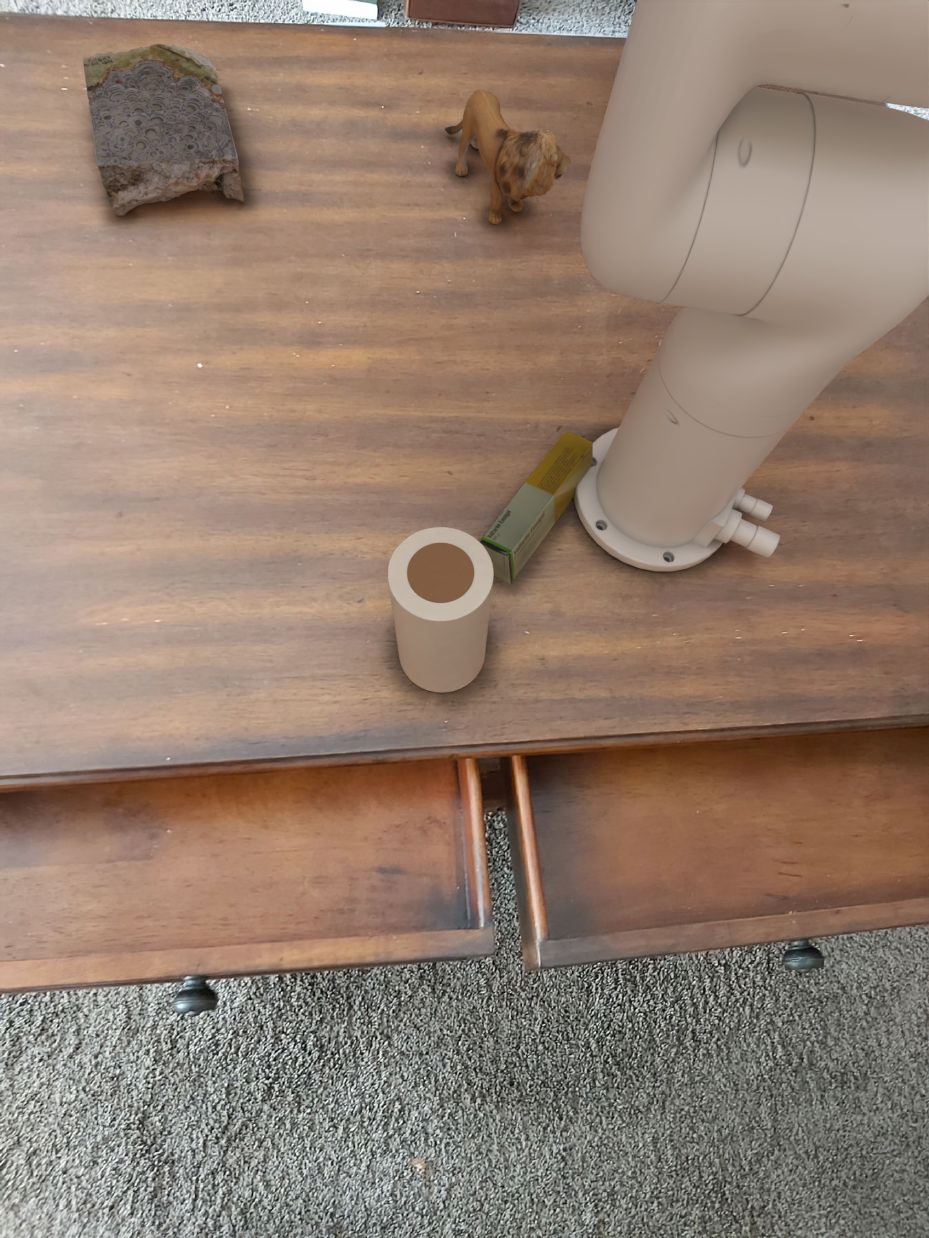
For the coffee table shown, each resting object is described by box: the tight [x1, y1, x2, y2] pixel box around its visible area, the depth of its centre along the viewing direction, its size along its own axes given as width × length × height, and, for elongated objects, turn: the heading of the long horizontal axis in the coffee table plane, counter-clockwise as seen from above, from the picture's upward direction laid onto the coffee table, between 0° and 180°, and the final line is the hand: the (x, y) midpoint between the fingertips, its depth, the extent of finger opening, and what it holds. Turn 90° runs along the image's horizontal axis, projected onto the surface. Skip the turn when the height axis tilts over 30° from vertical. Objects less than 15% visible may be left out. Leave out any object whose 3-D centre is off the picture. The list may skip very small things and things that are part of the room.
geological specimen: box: [82, 43, 246, 217], centre depth 70 cm, size 11×6×15 cm
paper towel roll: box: [387, 526, 495, 693], centre depth 52 cm, size 6×6×12 cm
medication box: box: [479, 430, 593, 585], centre depth 62 cm, size 12×3×4 cm, turn 146°
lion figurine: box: [444, 88, 572, 225], centre depth 71 cm, size 15×5×9 cm, turn 35°
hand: (680, 9), depth 73 cm, fingers closed on sprinkles bottle, 4 cm apart
